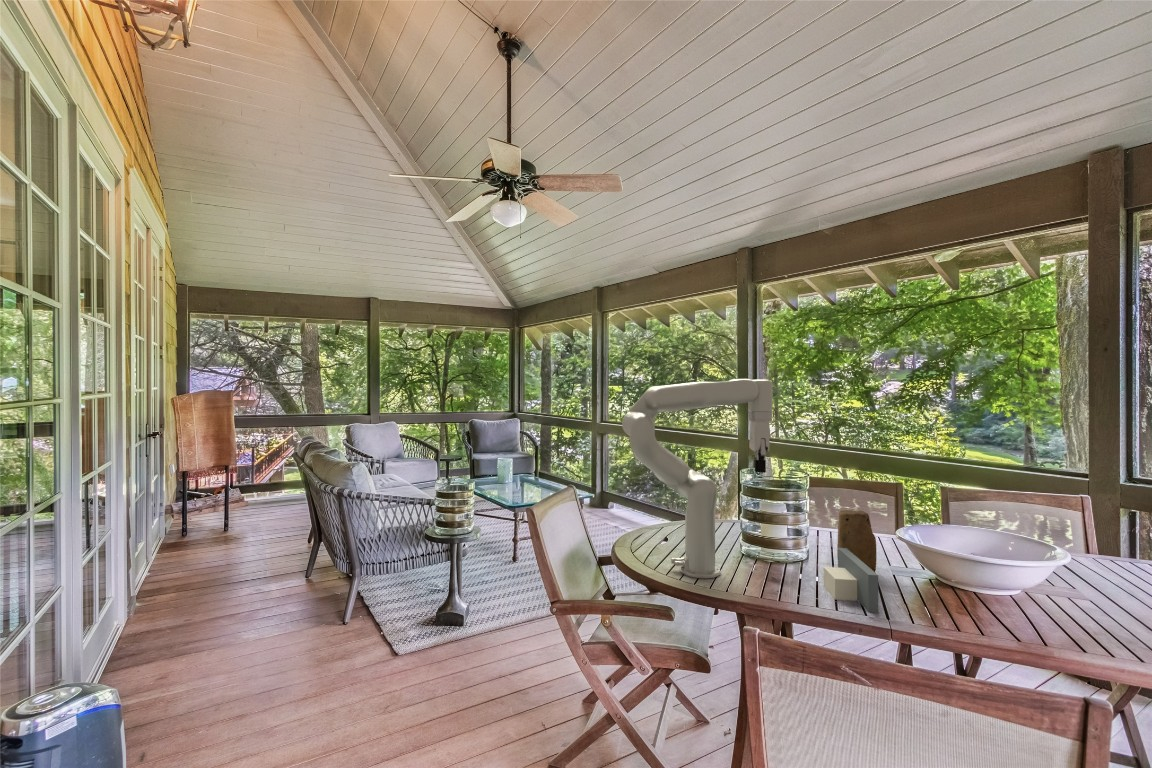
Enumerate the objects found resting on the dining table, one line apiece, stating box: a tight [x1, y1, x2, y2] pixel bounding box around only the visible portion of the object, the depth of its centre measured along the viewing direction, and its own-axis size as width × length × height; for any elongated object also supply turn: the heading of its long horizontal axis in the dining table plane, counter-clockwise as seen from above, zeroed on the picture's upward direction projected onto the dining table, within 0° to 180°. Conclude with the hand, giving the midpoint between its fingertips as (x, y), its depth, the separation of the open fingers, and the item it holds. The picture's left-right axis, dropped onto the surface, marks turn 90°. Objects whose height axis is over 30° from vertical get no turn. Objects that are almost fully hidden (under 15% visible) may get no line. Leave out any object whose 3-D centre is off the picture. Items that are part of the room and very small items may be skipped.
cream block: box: [823, 566, 858, 602], centre depth 157 cm, size 6×10×6 cm, turn 172°
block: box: [836, 509, 877, 573], centre depth 173 cm, size 11×8×20 cm
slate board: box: [837, 548, 879, 614], centre depth 155 cm, size 2×24×10 cm, turn 172°
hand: (760, 471), depth 177 cm, fingers closed
